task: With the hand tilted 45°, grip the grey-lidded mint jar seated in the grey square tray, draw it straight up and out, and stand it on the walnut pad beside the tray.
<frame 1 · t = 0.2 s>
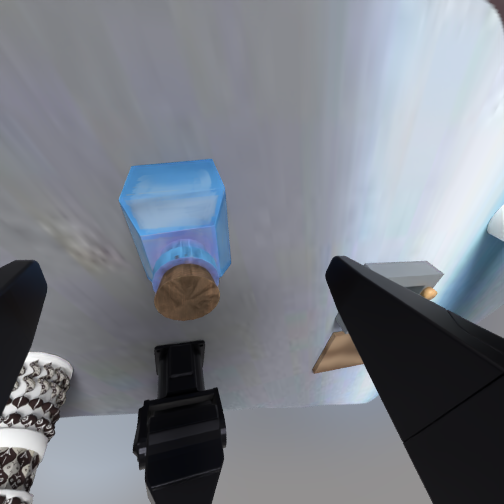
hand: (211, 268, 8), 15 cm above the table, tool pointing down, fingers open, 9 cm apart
walnut pad: (348, 348, 48), on the table
decorative candle: (31, 370, 29), on the table
grey square tray: (379, 291, 38), on the table
perfume bottle: (180, 197, 21), on the table
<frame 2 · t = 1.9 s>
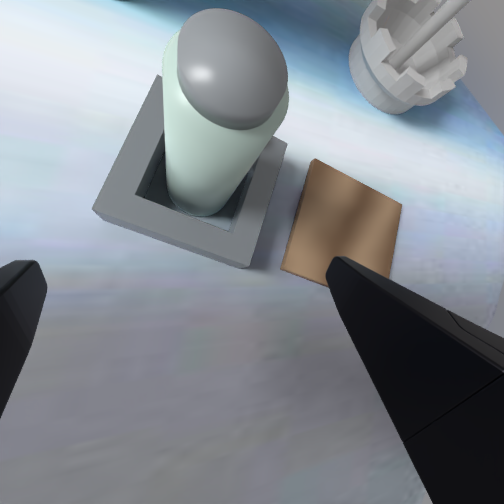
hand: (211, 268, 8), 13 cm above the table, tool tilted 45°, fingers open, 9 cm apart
grey-lidded mint jar: (199, 186, 22), resting in grey square tray
walnut pad: (344, 234, 26), on the table
flag stand: (382, 75, 31), on the table
grey square tray: (199, 186, 22), on the table
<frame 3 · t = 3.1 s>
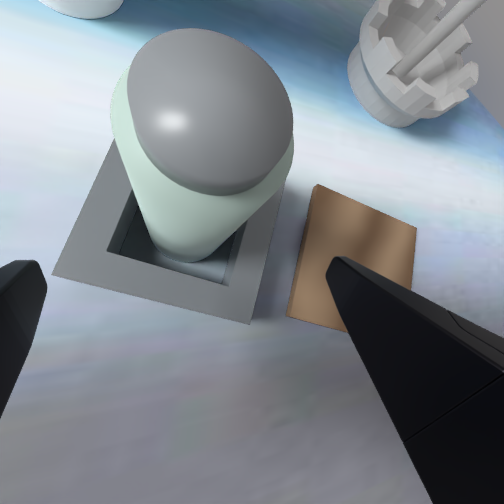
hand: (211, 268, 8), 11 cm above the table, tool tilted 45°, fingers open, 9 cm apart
grey-lidded mint jar: (187, 226, 19), resting in grey square tray
walnut pad: (355, 267, 23), on the table
flag stand: (384, 85, 29), on the table
grey square tray: (187, 226, 19), on the table
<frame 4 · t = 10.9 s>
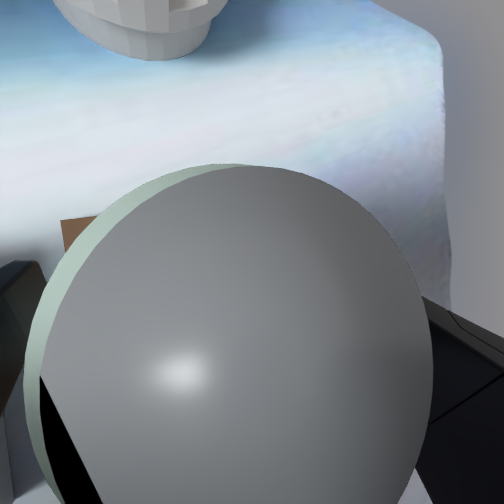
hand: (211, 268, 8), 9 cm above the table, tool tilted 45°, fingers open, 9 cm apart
grey-lidded mint jar: (192, 302, 15), point 1 cm above the table, touching walnut pad
walnut pad: (191, 301, 16), on the table
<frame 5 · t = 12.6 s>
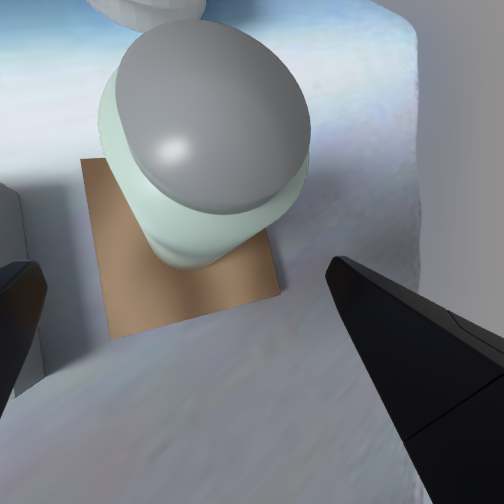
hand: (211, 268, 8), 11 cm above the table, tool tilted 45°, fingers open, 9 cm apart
grey-lidded mint jar: (188, 233, 18), point 1 cm above the table, touching walnut pad
walnut pad: (188, 234, 19), on the table
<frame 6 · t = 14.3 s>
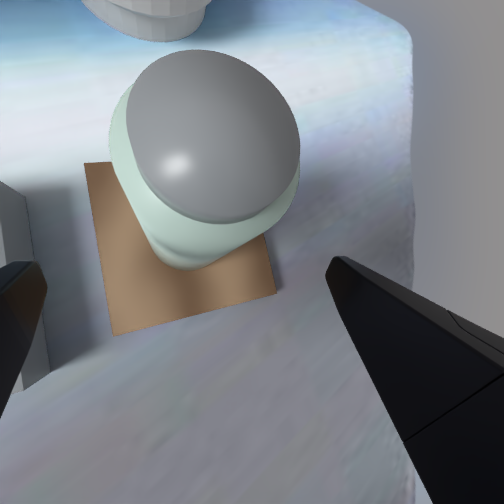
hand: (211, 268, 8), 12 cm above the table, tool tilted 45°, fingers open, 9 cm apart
grey-lidded mint jar: (188, 234, 18), point 1 cm above the table, touching walnut pad
walnut pad: (187, 235, 19), on the table
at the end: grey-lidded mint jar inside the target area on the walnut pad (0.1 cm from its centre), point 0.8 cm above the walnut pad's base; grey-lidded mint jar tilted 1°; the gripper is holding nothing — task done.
